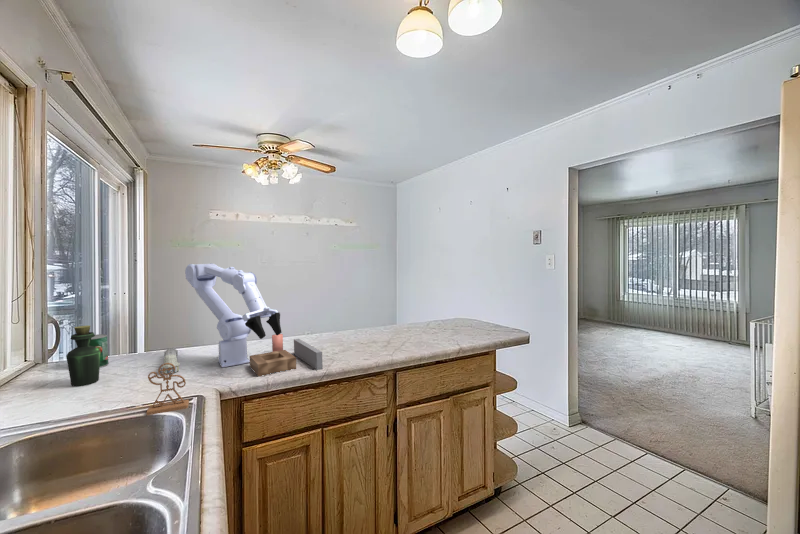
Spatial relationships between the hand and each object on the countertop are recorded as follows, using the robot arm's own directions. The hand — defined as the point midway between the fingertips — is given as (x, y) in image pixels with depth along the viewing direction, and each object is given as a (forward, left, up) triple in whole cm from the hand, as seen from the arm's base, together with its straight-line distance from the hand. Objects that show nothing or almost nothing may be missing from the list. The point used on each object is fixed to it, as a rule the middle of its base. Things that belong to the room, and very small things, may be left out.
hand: (271, 335), depth 120 cm
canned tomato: (-51, +45, -12) cm, 69 cm away
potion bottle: (-51, +24, -12) cm, 58 cm away
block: (+1, +2, -12) cm, 12 cm away
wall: (+13, +2, -12) cm, 18 cm away
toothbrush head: (-29, +29, -12) cm, 42 cm away
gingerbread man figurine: (-30, -15, -12) cm, 36 cm away
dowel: (+7, +17, -12) cm, 21 cm away
